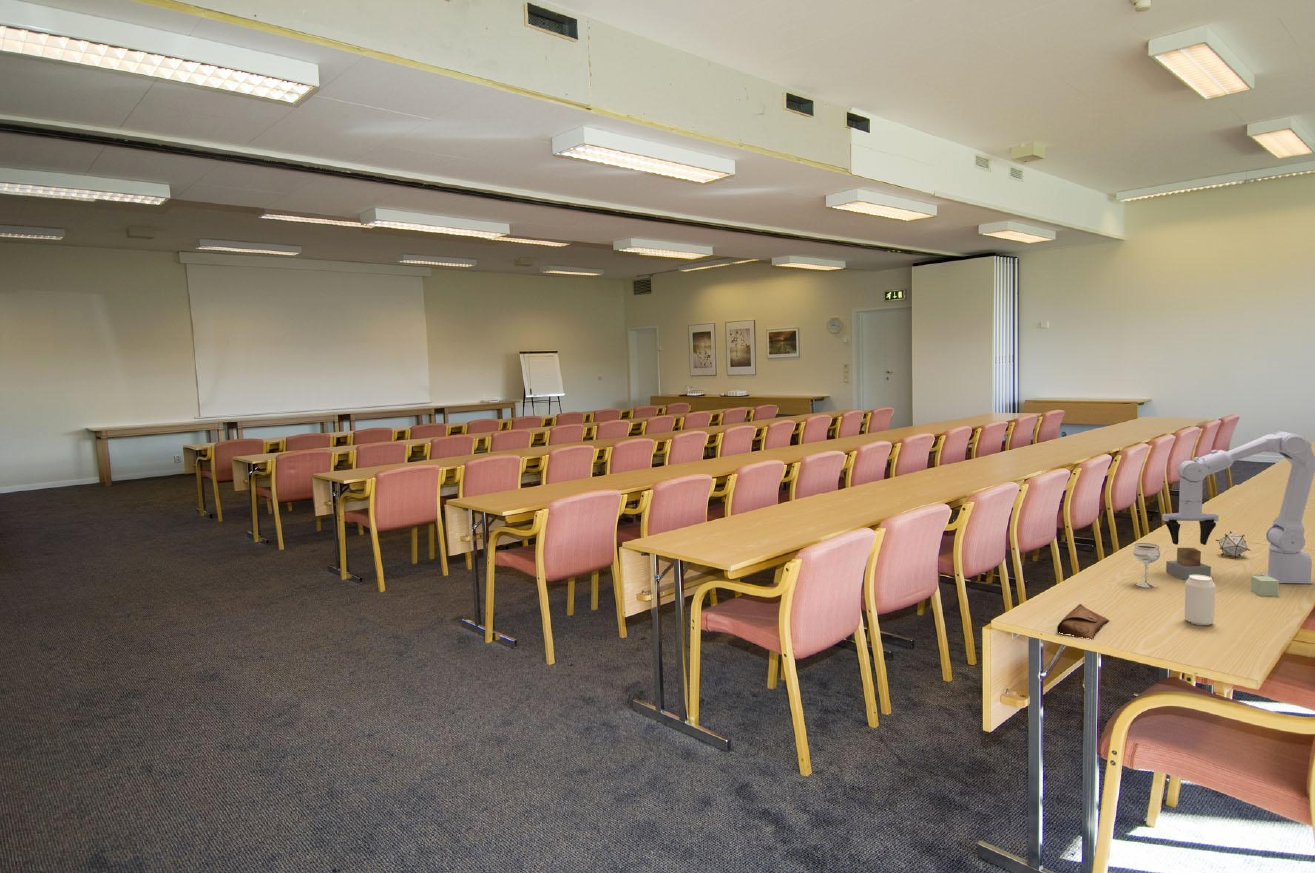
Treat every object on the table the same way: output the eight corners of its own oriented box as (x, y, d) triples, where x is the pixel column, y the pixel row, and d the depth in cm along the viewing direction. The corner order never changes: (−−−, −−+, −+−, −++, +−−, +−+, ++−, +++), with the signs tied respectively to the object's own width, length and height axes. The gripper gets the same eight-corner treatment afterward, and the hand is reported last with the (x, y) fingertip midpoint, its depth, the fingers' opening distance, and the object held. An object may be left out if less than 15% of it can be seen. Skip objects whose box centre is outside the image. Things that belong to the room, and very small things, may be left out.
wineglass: (1135, 587, 224) (1136, 547, 223) (1130, 580, 230) (1131, 542, 229) (1161, 589, 221) (1163, 549, 220) (1156, 582, 228) (1157, 543, 226)
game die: (1229, 568, 250) (1213, 546, 249) (1222, 553, 257) (1206, 531, 256) (1259, 558, 245) (1244, 535, 244) (1251, 543, 252) (1236, 521, 251)
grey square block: (1191, 572, 237) (1191, 559, 237) (1210, 579, 229) (1210, 566, 229) (1166, 573, 237) (1166, 560, 237) (1184, 580, 229) (1184, 567, 229)
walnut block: (1192, 561, 235) (1193, 547, 234) (1200, 565, 230) (1200, 551, 230) (1176, 561, 235) (1177, 547, 235) (1183, 565, 231) (1184, 551, 231)
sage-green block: (1268, 591, 216) (1269, 576, 215) (1278, 596, 212) (1279, 580, 211) (1250, 591, 217) (1251, 576, 216) (1260, 596, 212) (1260, 580, 212)
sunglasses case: (1094, 640, 185) (1079, 615, 187) (1067, 649, 190) (1052, 624, 192) (1111, 619, 199) (1096, 596, 200) (1085, 628, 203) (1071, 605, 205)
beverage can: (1181, 623, 195) (1183, 577, 193) (1187, 616, 199) (1188, 572, 198) (1211, 628, 190) (1212, 582, 189) (1216, 621, 194) (1217, 576, 193)
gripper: (1210, 497, 233) (1209, 540, 235) (1158, 497, 236) (1157, 540, 237) (1222, 502, 226) (1221, 546, 228) (1168, 502, 229) (1167, 546, 231)
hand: (1189, 543), depth 232 cm, fingers open, 7 cm apart
